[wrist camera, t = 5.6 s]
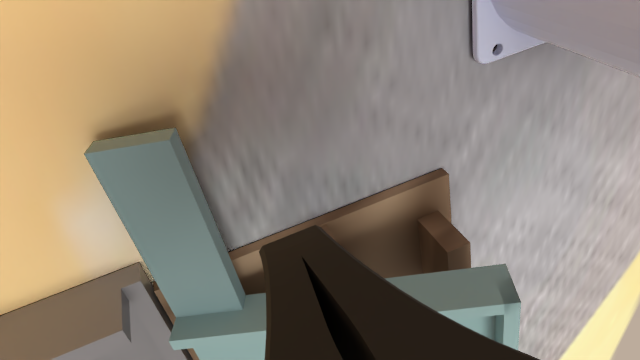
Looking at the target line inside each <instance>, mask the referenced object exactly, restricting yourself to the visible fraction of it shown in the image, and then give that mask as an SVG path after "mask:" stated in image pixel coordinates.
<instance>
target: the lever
mask: <svg viewBox="0 0 640 360" xmlns="http://www.w3.org/2000/svg"><path fill="white" fill-rule="evenodd" d="M84 155H85V157H86V158H87V160H88V162H89V164H90V165H91V167H92V169H93V171H94V173H95V174H96V176H97V178H98V180H99V181H100V183H101V185H102V187H103V189H104V190H105V192H106V194H107V196H108V198H109V199H110V201H111V203H112V205H113V206H114V208H115V210H116V212H117V214H118V215H119V217H120V219H121V221H122V222H123V224H124V226H125V228H126V230H127V231H128V233H129V235H130V237H131V238H132V240H133V242H134V244H135V246H136V247H137V249H138V251H139V253H140V255H141V256H142V258H143V260H144V262H145V263H146V265H147V267H148V269H149V271H150V272H151V274H152V276H153V278H154V279H155V281H156V283H157V285H158V287H159V288H160V290H161V292H162V294H163V295H164V297H165V299H166V301H167V303H168V304H169V306H170V308H171V310H172V311H173V313H174V315H175V317H176V319H175V322H174V326H173V329H172V332H171V335H170V338H169V343H170V345H171V346H172V348H173V350H180V349H189V348H193V349H194V351H195V352H196V354H197V356H198V358H199V360H265V345H266V293H260V294H251V295H245V292H244V290H243V288H242V285H241V283H240V280H239V278H238V276H237V273H236V271H235V268H234V266H233V264H232V261H231V259H230V256H229V254H228V252H227V249H226V247H225V245H224V242H223V240H222V237H221V235H220V233H219V230H218V228H217V225H216V223H215V221H214V218H213V216H212V213H211V211H210V209H209V206H208V204H207V201H206V199H205V197H204V194H203V192H202V190H201V187H200V185H199V182H198V180H197V178H196V175H195V173H194V170H193V168H192V166H191V163H190V161H189V158H188V156H187V154H186V151H185V149H184V147H183V144H182V142H181V139H180V137H179V135H178V132H177V130H176V128H170V129H164V130H158V131H152V132H146V133H140V134H135V135H129V136H123V137H117V138H111V139H105V140H99V141H93V143H92V144H91V145H90V147H89V148H88V149H87V151H86V152H85V153H84ZM384 279H386V280H387V281H389V282H390V283H392V284H393V285H395V286H396V287H398V288H399V289H401V290H402V291H404V292H405V293H407V294H409V295H410V296H412V297H413V298H415V299H416V300H418V301H420V302H421V303H423V304H425V305H426V306H428V307H430V308H432V309H433V310H435V311H437V312H439V313H440V314H442V315H444V316H446V317H448V318H450V319H452V320H454V321H455V322H457V323H459V324H461V325H463V326H465V327H467V328H469V329H471V330H473V331H475V332H477V333H479V334H482V335H484V336H486V337H488V338H490V339H492V340H494V341H497V342H499V343H501V344H504V345H506V346H509V347H511V348H513V349H516V350H518V342H519V326H520V309H521V301H520V299H519V296H518V294H517V291H516V289H515V286H514V284H513V281H512V279H511V276H510V274H509V271H508V269H507V266H506V264H500V265H492V266H484V267H475V268H467V269H459V270H450V271H442V272H434V273H426V274H417V275H409V276H401V277H392V278H384Z"/></svg>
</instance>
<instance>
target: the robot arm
mask: <svg viewBox="0 0 640 360" xmlns="http://www.w3.org/2000/svg"><path fill="white" fill-rule="evenodd" d="M472 30H473V57H474V59H475V60H476V61H477V62H479V63H481V64H488V63H490V62H493V61H496V60H499V59H502V58H504V57H507V56H510V55H513V54H515V53H518V52H521V51H524V50H527V49H529V48H532V47H535V46H538V45H541V44H543V43H546V42H547V43H550V44H553V45H555V46H558V47H561V48H563V49H566V50H569V51H571V52H574V53H577V54H579V55H582V56H585V57H587V58H590V59H593V60H595V61H598V62H601V63H603V64H606V65H608V66H611V67H614V68H616V69H619V70H622V71H624V72H627V73H630V74H632V75H635V76H638V77H640V0H472ZM495 45H497V48H496V50H495V51H494V52H492V51H493V48H494V46H495ZM259 254H260V257H261V260H262V265H263V270H264V278H265V289H266V345H265V360H539V359H537V358H535V357H532V356H530V355H528V354H525V353H523V352H520V351H518V350H516V349H513V348H511V347H509V346H506V345H504V344H501V343H499V342H497V341H494V340H492V339H490V338H488V337H486V336H484V335H482V334H479V333H477V332H475V331H473V330H471V329H469V328H467V327H465V326H463V325H461V324H459V323H457V322H455V321H454V320H452V319H450V318H448V317H446V316H444V315H442V314H440V313H439V312H437V311H435V310H433V309H432V308H430V307H428V306H426V305H425V304H423V303H421V302H420V301H418V300H416V299H415V298H413V297H412V296H410V295H409V294H407V293H405V292H404V291H402V290H401V289H399V288H398V287H396V286H395V285H393V284H392V283H390V282H389V281H387V280H386V279H384V278H383V277H381V276H380V275H379V274H377V273H376V272H374V271H373V270H372V269H370V268H369V267H368V266H366V265H365V264H363V263H362V262H361V261H360V260H358V259H357V258H356V257H354V256H353V255H352V254H351V253H349V252H348V251H347V250H346V249H344V248H343V247H342V246H341V245H340V244H339V243H337V242H336V241H335V240H334V239H333V238H332V237H331V236H330V235H329V234H327V233H326V232H325V231H324V230H323V229H322V228H321V227H319V226H317V225H314V226H311V227H309V228H306V229H303V230H301V231H298V232H296V233H293V234H291V235H288V236H286V237H283V238H281V239H278V240H276V241H273V242H271V243H268V244H266V245H263V246H262V247H261V249H260V251H259Z"/></svg>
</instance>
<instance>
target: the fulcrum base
mask: <svg viewBox="0 0 640 360" xmlns="http://www.w3.org/2000/svg"><path fill="white" fill-rule="evenodd" d="M314 225H317V226H319V227H321V228H322V229H323V230H324V231H325V232H326V233H327V234H329V235H330V236H331V237H332V238H333V239H334V240H335V241H336V242H337V243H339V244H340V245H341V246H342V247H343V248H344V249H346V250H347V251H348V252H349V253H351V254H352V255H353V256H354V257H356V258H357V259H358V260H360V261H361V262H362V263H363V264H365V265H366V266H368V267H369V268H370V269H372V270H373V271H374V272H376V273H377V274H379V275H380V276H381V277H383V278H392V277H401V276H409V275H417V274H426V273H434V272H442V271H450V270H459V269H467V268H471V254H470V242H469V241H468V240H467V239H466V238H465V237H464V236H463V235H462V234H461V233H460V232H459V231H458V230H457V229H456V228H455V227H454V226H453V225H452V224H451V207H450V189H449V174H448V173H447V172H446V171H445V170H444V169H442V168H441V169H439V170H436V171H434V172H431V173H428V174H426V175H423V176H421V177H418V178H416V179H413V180H411V181H408V182H406V183H403V184H401V185H398V186H396V187H393V188H390V189H388V190H385V191H383V192H380V193H378V194H375V195H373V196H370V197H368V198H365V199H363V200H360V201H358V202H355V203H353V204H350V205H347V206H345V207H342V208H340V209H337V210H335V211H332V212H330V213H327V214H325V215H322V216H320V217H317V218H315V219H312V220H309V221H307V222H304V223H302V224H299V225H297V226H294V227H292V228H289V229H287V230H284V231H282V232H279V233H277V234H274V235H271V236H269V237H266V238H264V239H261V240H259V241H256V242H254V243H251V244H249V245H246V246H244V247H241V248H239V249H236V250H234V251H231V252H228V254H229V256H230V259H231V261H232V264H233V266H234V268H235V271H236V273H237V276H238V278H239V280H240V283H241V285H242V288H243V290H244V292H245V295H251V294H260V293H266V289H265V278H264V270H263V265H262V260H261V257H260V254H259V251H260V249H261V247H262V246H263V245H266V244H268V243H271V242H273V241H276V240H278V239H281V238H283V237H286V236H288V235H291V234H293V233H296V232H298V231H301V230H303V229H306V228H309V227H311V226H314ZM153 286H154V292H155V294H156V296H157V297H158V299H159V301H160V303H161V304H162V306H163V308H164V310H165V311H166V313H167V315H168V316H169V318H170V320H171V322H172V323H173V325H174V322H175V319H176V317H175V315H174V313H173V311H172V310H171V308H170V306H169V304H168V303H167V301H166V299H165V297H164V295H163V294H162V292H161V290H160V288H159V287H158V285H157V283H156V281H155V282H153ZM187 350H188V351H189V353H190V355H191V357H192V358H193V360H199V358H198V356H197V354H196V352H195V351H194V349H193V348H189V349H187Z"/></svg>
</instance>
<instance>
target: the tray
mask: <svg viewBox="0 0 640 360" xmlns="http://www.w3.org/2000/svg"><path fill="white" fill-rule="evenodd" d="M173 326H174V325H173V323H172V322H171V320H170V318H169V316H168V315H167V313H166V311H165V310H164V308H163V306H162V304H161V303H160V301H159V299H158V297H157V296H156V294H155V292H154V288H153V286H152V284H151V282H150V281H149V279H148V277H147V275H146V274H145V272H144V270H143V268H142V267H141V265H140V263H136V264H134V265H131V266H129V267H126V268H123V269H121V270H118V271H116V272H113V273H110V274H108V275H105V276H103V277H100V278H97V279H95V280H92V281H90V282H87V283H85V284H82V285H79V286H77V287H74V288H72V289H69V290H66V291H64V292H61V293H59V294H56V295H53V296H51V297H48V298H46V299H43V300H40V301H38V302H35V303H33V304H30V305H27V306H25V307H22V308H20V309H17V310H15V311H12V312H9V313H7V314H4V315H2V316H0V360H193V358H192V357H191V355H190V353H189V351H188V350H187V349H180V350H173V348H172V346H171V345H170V343H169V338H170V335H171V332H172V329H173Z"/></svg>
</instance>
